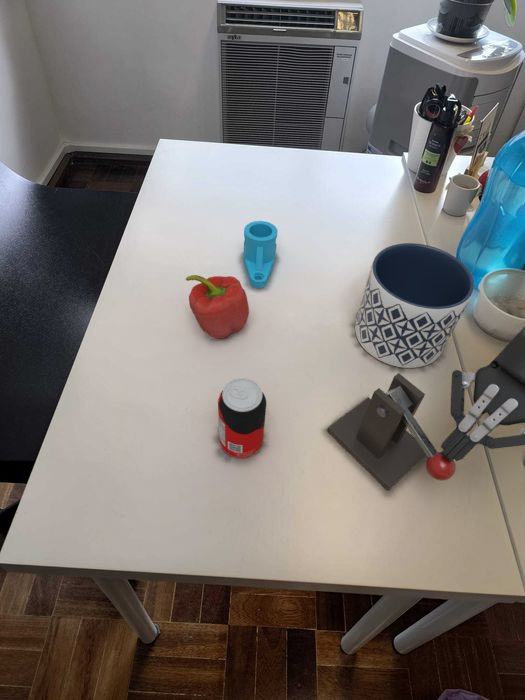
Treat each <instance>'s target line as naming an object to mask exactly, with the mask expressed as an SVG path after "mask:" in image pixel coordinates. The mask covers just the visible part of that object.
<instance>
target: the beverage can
mask: <svg viewBox="0 0 525 700" xmlns="http://www.w3.org/2000/svg"><path fill="white" fill-rule="evenodd" d="M217 413H218V414H217V415H218V416H217V417H218V418H217V419H218V440H219V441H218V442H219V444H220V447H221V449H222V450H223V451H224V452H225V453H226V454H228V455H229V456H231V457H234V458H238V459H244V458H245V459H246V458H249V457H252V456H254V455H255V454H257V452H258V451H259V450H260V449H261V448H262V445H263V442H264V433H265V423H266V422H265V421H266V413H267V399H266V395H265V393H264V392H263V390H262V388H261V386H260V385H259V384H258V383H257V382H256V381H255V380H252V379H249V378H246V377H245V378H242V377H241V378H235V379H232V380H230V381H229V382H228V383H227V384H225V386H224V387H223V390H221V392H220V394H219V396H218V399H217Z"/></svg>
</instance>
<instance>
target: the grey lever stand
mask: <svg viewBox="0 0 525 700" xmlns="http://www.w3.org/2000/svg"><path fill="white" fill-rule="evenodd" d="M399 386H401V387H402V389H403V390H404V392H405V393H406V395H407V396H408V398H409V399H410V400H411V402H412V405H410V406H409V407H408V410H409V411H410V412H411V414H412V415H413V417H414V416H415V414H416V413H417V411H418V409H419V408H420V406H421V404H422V401H423V400H424V397H425V396H426V393H424V392H423V391H422V390H421V389H420V388H418V387H417V386H416V385H414V384H413V383H412V382H411V381H409V380H408V379H407V378H405V376H404V375H402V374H401V373H400V372H398V373H397V374H395V375H394V376H393V378H392V381H391V382H390V385H389V387H388V390H387V392H388V391H389V390H391V389H394V388H396V387H399ZM404 412H405V410H404V409H403V408H402V407H401V406H400V405H398V404H397V403H396V402H395V401H394V400H393V399H391V398H390V397H389V396H388V395H387V394H386V392H384V391H383V390H382V389H381V388H379V387H378V388H377V389H376V390H374V391H373V393H372V396H371V397H366V398H365V399H364V400H362V401H361V402H360V403H359V404H357V405H355V406H354V407H353V408H352V409H351V410H349V411H348V412H346V413H345V414H344V415H343V416H341V417H340V418H339V419H337V420H336V421H335V422H333V423H332V424H331V425H329V426H328V427H327V430H326V432H327V433H328V434H329V435H330V436H331V438H333V439H334V440H335V442H337V443H338V444H339V445H340V446H341V447H342V448H343V449H344V450H345V451H346V452H347V453H348V454H349V455H350V456H351V457H352V458H353V459H354V460H355V461H356V462H357V463H358V464H359V465H360V466H361V467H362V468H363V469H365V471H367V473H369V475H370V476H372V477H373V479H375V480H376V481H377V482H378V483H379V484H380V485H381V486H382V487H383V488H384V489H385V490H386V491H387V492H388V491H389V490H391V489H392V488H393V487H394V486H395V485H396V484H397V483H398V482H400V481H401V480H402V479H403V478H404V477H405V476H406V475H408V473H409V472H410V471H411V470H413V469H414V468H415V467H416V466H417V465H418V464H419V463H420V462H421V461H422V460H424V459H425V458H426V457H427V455H426V454H425V452H424V451H423V449H422V448H421V446H420V445H419V443H418V442H417V441H416V439H415V438H414V436H413V435H412V433H411V432H410V431H408V430H407V429H408V427H407V426H406V425H405V423H404V422H403V420H402V419H401V418H402V416H403V414H404Z"/></svg>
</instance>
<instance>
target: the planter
mask: <svg viewBox="0 0 525 700" xmlns="http://www.w3.org/2000/svg"><path fill="white" fill-rule="evenodd" d="M474 289H475V281H474V277H473V275H472V273H471V271H470V270H469V268H468V267H467V266H466V265H465V264H464V263H463V261H461V260H460V259H459V258H457V257H456V256H454V255H453V254H451V253H450V252H447V251H446V250H444V249H440V248H438V247H435V246H432V245H429V244H424V243H423V244H422V243H417V242H416V243H413V242H407V243H406V242H405V243H397V244H392V245H390V246H388V247H385V248H383V249H381V250H380V251H379V252H378V253H377V254H376V255H375V257H374V259H373V261H372V264H371V267H370V270H369V274H368V277H367V280H366V284H365V286H364V291H363V294H362V297H361V302H360V304H359V308H358V311H357V315H356V320H355V324H354V332H355V336H356V338H357V340H358V343H359V344H360V345H361V346H362V348H363V349H364V350H365V351H366V352H367V353H368V354H370V356H372V357H373V358H374V359H376V360H378V361H379V362H382V363H385V364H387V365H391V366H393V367H398V368H405V369H412V368H413V369H415V368H421V367H425V366H428V365H430V364H432V363H433V362H435V361H437V360H438V359H439V357H440V356H441V355H442V354H443V351H444V349H445V348H446V346H447V344H448V342H449V340H450V338H451V336H452V334H453V333H454V330H455V328H456V327H457V325H458V322H459V321H460V319H461V317H462V315H463V313H464V311H465V309H466V307H467V305H468V303H469V301H470V299H471V298H472V295H473V293H474Z"/></svg>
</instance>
